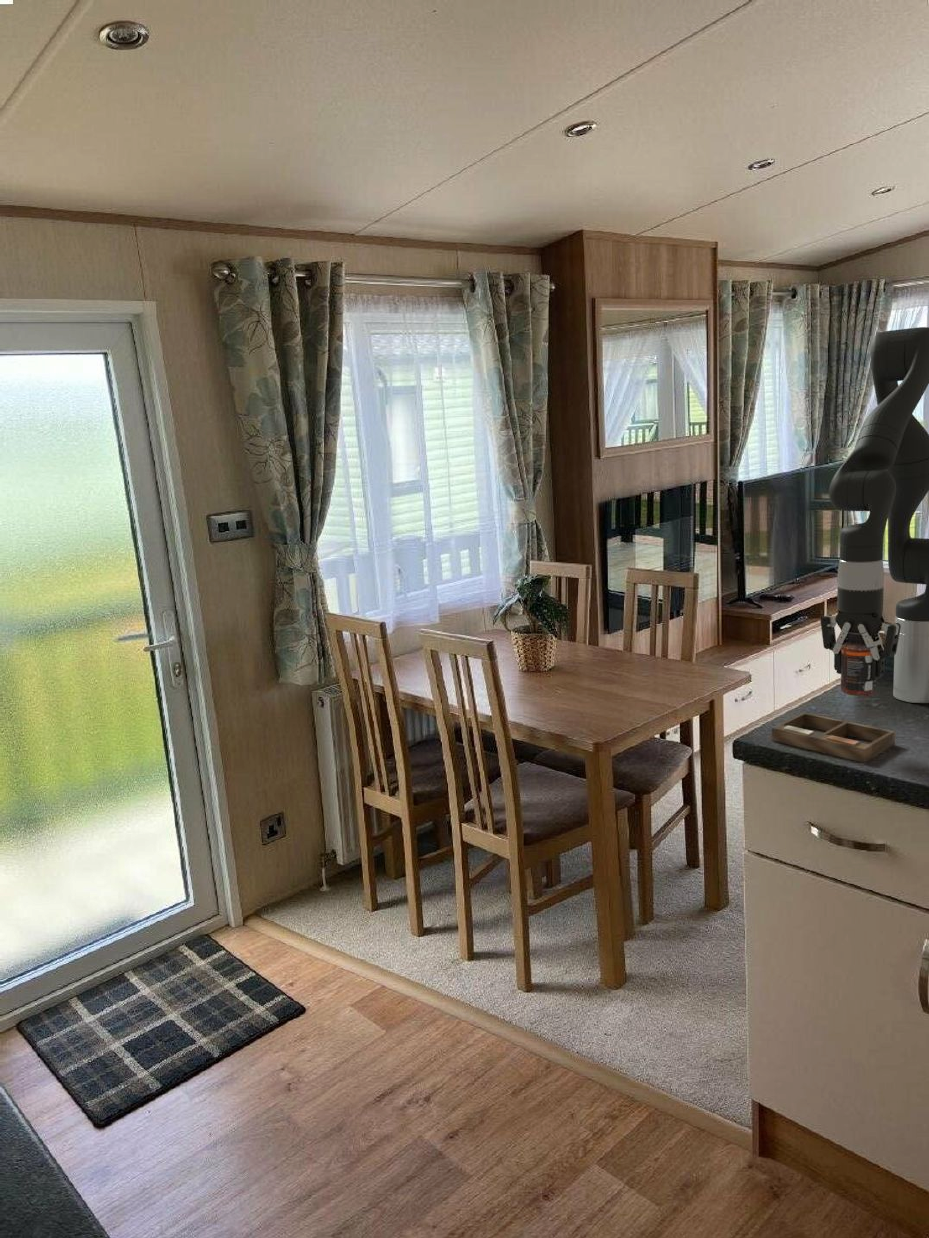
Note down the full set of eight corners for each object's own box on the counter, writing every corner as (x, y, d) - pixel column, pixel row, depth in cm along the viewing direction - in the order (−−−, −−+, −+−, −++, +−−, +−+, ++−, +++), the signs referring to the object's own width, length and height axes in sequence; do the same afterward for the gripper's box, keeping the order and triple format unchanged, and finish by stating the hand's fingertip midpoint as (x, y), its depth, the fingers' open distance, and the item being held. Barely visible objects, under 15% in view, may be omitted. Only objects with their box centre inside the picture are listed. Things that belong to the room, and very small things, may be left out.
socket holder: (894, 744, 173) (894, 729, 172) (864, 762, 166) (864, 747, 165) (803, 724, 187) (803, 710, 186) (771, 740, 179) (771, 726, 179)
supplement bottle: (879, 697, 168) (881, 635, 165) (843, 697, 169) (844, 635, 167) (872, 687, 173) (873, 627, 171) (837, 687, 175) (838, 627, 172)
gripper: (911, 584, 164) (908, 677, 168) (832, 577, 175) (831, 664, 178) (890, 592, 159) (888, 687, 163) (811, 584, 170) (810, 674, 174)
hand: (858, 675), depth 171 cm, fingers closed on supplement bottle, 6 cm apart
